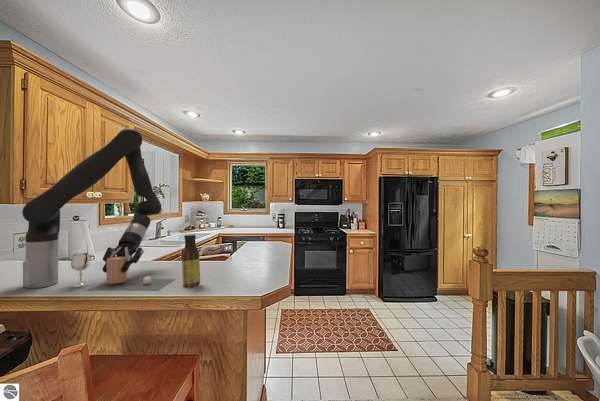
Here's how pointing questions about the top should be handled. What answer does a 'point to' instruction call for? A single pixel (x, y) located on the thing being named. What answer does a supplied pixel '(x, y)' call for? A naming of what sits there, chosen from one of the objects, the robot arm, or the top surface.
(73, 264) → the wineglass
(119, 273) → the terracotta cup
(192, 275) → the sauce bottle
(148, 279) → the ivory ball
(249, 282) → the top surface
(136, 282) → the rubber mat
